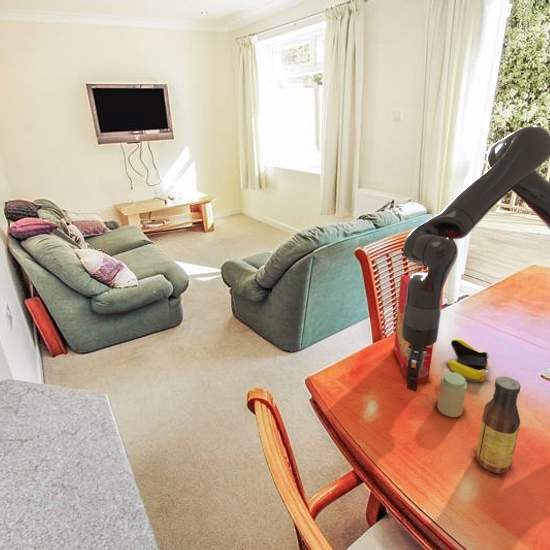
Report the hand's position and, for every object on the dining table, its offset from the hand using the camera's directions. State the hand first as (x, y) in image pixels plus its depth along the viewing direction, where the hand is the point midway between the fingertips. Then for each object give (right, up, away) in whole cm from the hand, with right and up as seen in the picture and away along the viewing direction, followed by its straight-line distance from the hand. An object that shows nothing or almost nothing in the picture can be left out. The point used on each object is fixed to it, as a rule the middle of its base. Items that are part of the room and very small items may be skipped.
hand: (413, 380), depth 89 cm
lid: (0, +3, -1) cm, 3 cm away
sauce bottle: (+11, -13, -12) cm, 21 cm away
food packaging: (+6, -1, +18) cm, 19 cm away
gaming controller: (+20, -1, +15) cm, 25 cm away
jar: (+9, -7, +2) cm, 12 cm away
